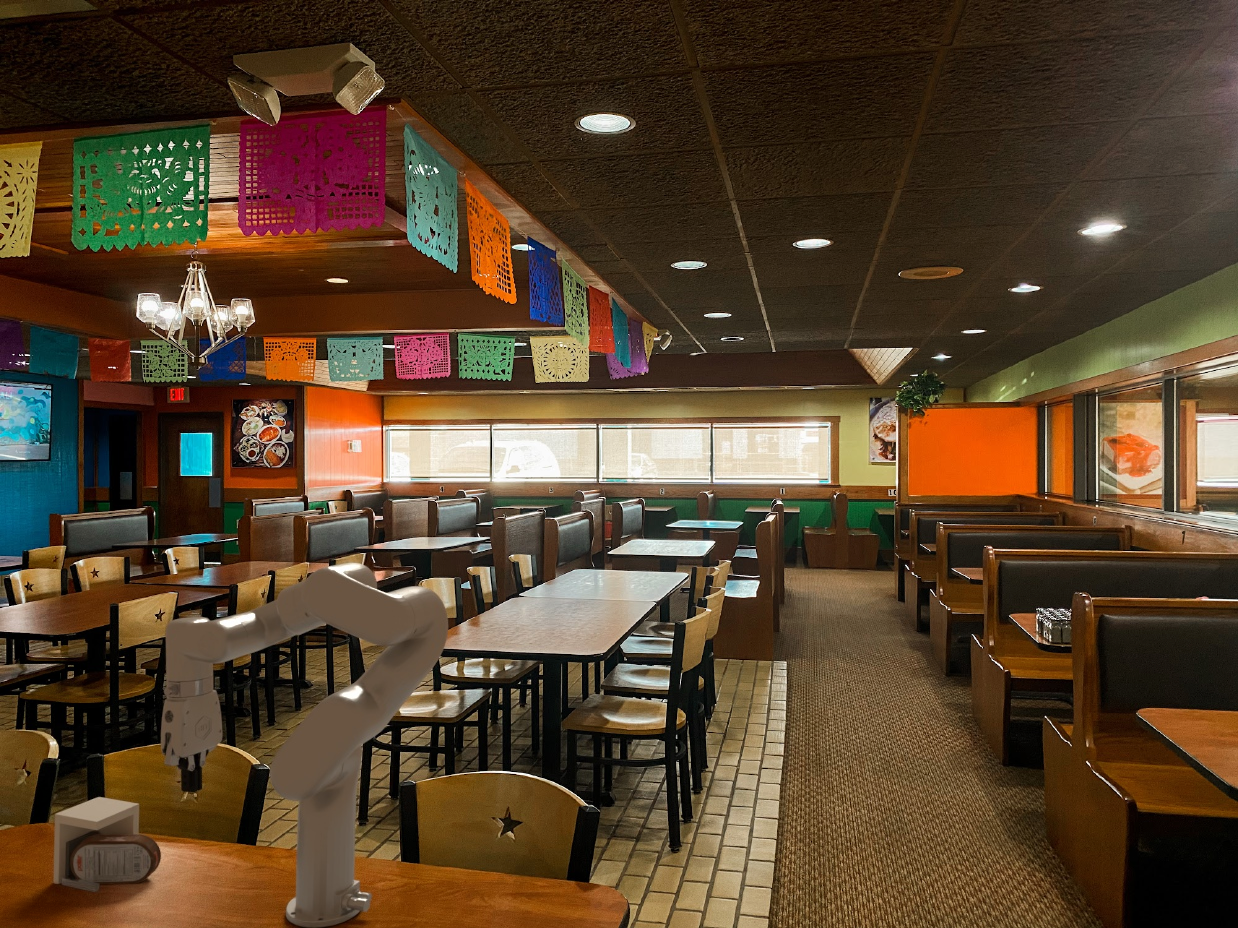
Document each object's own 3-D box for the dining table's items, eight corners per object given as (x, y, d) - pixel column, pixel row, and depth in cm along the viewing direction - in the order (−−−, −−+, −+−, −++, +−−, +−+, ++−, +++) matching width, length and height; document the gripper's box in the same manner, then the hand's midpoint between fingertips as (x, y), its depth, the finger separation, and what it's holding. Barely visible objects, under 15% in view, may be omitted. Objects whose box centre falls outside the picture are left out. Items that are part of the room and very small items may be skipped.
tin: (161, 877, 161) (162, 831, 161) (153, 885, 158) (154, 838, 158) (76, 879, 160) (77, 833, 160) (66, 887, 156) (67, 840, 157)
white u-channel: (137, 870, 163) (139, 803, 163) (95, 891, 155) (96, 821, 155) (97, 861, 166) (98, 796, 167) (53, 882, 158) (55, 813, 158)
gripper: (173, 698, 147) (175, 807, 147) (237, 679, 162) (239, 778, 161) (139, 696, 150) (140, 803, 149) (205, 677, 164) (206, 774, 164)
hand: (191, 790), depth 155 cm, fingers closed
